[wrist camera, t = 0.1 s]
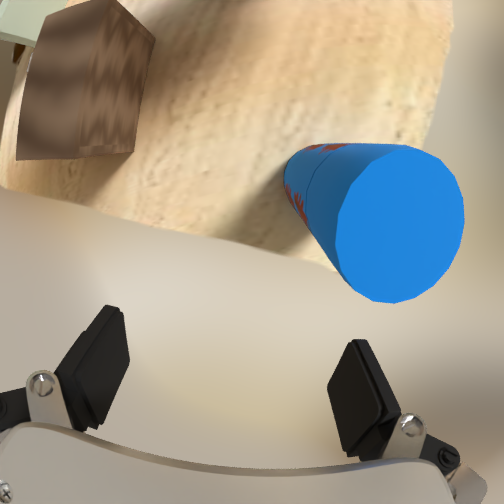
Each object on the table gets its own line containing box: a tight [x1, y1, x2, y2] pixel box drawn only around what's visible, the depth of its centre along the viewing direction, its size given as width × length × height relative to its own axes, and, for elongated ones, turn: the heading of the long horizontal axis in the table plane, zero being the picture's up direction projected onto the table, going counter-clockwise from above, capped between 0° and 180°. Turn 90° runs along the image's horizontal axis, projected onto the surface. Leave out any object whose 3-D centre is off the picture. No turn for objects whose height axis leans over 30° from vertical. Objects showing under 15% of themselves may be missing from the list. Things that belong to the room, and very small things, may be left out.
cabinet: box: [16, 0, 155, 161], centre depth 24 cm, size 19×21×16 cm
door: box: [0, 0, 68, 48], centre depth 16 cm, size 16×4×16 cm, turn 171°
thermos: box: [284, 143, 464, 303], centre depth 26 cm, size 11×11×25 cm
